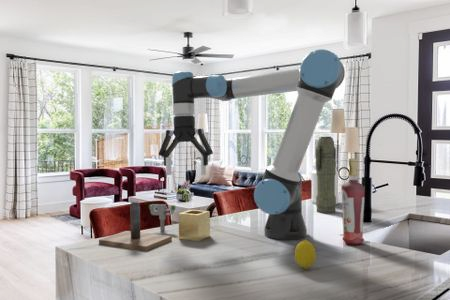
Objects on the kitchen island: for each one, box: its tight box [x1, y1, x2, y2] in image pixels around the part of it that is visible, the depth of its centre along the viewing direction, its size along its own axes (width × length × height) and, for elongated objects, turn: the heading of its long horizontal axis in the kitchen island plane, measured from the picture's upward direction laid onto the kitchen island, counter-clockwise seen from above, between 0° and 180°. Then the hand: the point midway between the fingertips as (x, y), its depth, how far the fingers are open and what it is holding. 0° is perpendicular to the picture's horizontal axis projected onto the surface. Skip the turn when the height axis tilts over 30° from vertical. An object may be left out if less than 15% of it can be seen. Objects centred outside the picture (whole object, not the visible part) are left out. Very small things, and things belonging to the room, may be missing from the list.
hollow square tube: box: [178, 209, 211, 242], centre depth 145 cm, size 8×8×9 cm
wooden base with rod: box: [98, 201, 173, 252], centre depth 139 cm, size 20×14×14 cm
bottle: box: [310, 157, 340, 205], centre depth 213 cm, size 14×14×28 cm
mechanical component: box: [148, 203, 177, 232], centre depth 156 cm, size 3×10×10 cm, turn 78°
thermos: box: [315, 136, 337, 214], centre depth 190 cm, size 9×12×35 cm
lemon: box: [294, 239, 317, 270], centre depth 109 cm, size 6×6×8 cm
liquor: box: [341, 158, 366, 246], centre depth 134 cm, size 7×7×28 cm
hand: (186, 175), depth 146 cm, fingers open, 13 cm apart
